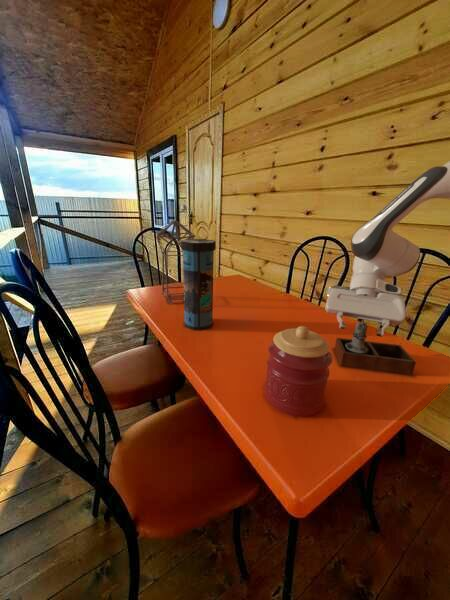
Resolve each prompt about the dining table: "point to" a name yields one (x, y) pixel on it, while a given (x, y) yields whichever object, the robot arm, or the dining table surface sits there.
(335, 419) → the dining table surface
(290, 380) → the kitchen canister
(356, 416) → the dining table surface
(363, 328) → the grey stone statuette
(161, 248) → the geometric lantern
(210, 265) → the advertising column
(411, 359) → the holder
